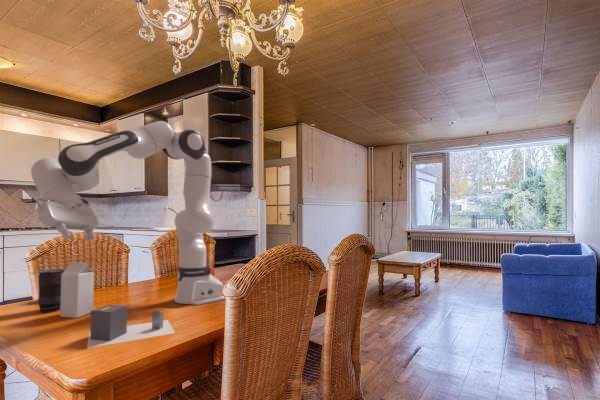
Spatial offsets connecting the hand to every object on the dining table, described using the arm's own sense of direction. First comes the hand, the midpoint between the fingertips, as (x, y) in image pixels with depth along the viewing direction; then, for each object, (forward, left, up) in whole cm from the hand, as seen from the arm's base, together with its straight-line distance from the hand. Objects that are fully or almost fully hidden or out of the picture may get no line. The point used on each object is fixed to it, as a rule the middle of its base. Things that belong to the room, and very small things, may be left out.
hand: (80, 238), depth 104 cm
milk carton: (+2, -21, -29) cm, 36 cm away
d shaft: (-21, +14, -27) cm, 37 cm away
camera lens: (+11, -33, -29) cm, 46 cm away
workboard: (-14, +14, -29) cm, 35 cm away
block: (-8, +14, -27) cm, 32 cm away
